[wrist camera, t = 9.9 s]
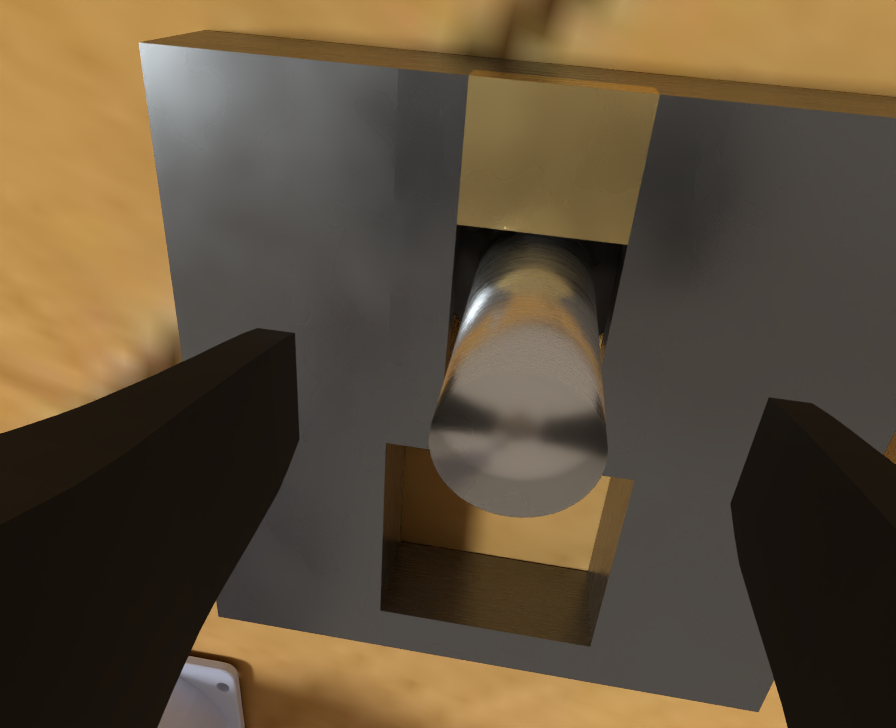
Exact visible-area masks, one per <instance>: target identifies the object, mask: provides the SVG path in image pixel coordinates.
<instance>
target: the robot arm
mask: <svg viewBox="0 0 896 728" xmlns="http://www.w3.org/2000/svg"><path fill="white" fill-rule="evenodd" d="M299 439H300V438H299V414H298V390H297V367H296V343H295V333H292V332H284V331H277V330H270V329H262V328H256V329H253V330H250V331H248V332H245V333H243V334H240V335H238V336H236V337H233V338H231V339H229V340H227V341H225V342H223V343H221V344H219V345H216V346H214V347H212V348H210V349H208V350H206V351H204V352H202V353H200V354H198V355H196V356H194V357H191V358H189V359H187V360H185V361H183V362H181V363H179V364H177V365H175V366H173V367H171V368H168V369H166V370H164V371H162V372H160V373H158V374H156V375H154V376H151V377H149V378H147V379H144V380H142V381H140V382H137V383H135V384H133V385H130V386H128V387H126V388H123V389H121V390H119V391H116V392H114V393H112V394H109V395H107V396H105V397H103V398H100V399H98V400H96V401H93V402H91V403H88V404H86V405H83V406H80V407H78V408H75V409H72V410H70V411H67V412H64V413H62V414H59V415H56V416H53V417H50V418H47V419H44V420H41V421H38V422H35V423H32V424H29V425H26V426H23V427H20V428H17V429H14V430H11V431H8V432H4V433H1V434H0V728H245V724H244V716H243V709H242V701H241V693H240V685H239V677H238V672H237V670H236V668H235V667H234V666H232V665H231V664H229V663H225V662H220V661H215V660H209V659H204V658H198V657H193V656H189V654H190V652H191V649H192V647H193V645H194V643H195V640H196V638H197V636H198V634H199V632H200V630H201V628H202V626H203V624H204V622H205V620H206V618H207V616H208V614H209V612H210V611H211V609H212V607H213V605H214V603H215V601H216V600H217V598H218V596H219V594H220V593H221V591H222V589H223V588H224V586H225V584H226V582H227V581H228V579H229V577H230V576H231V574H232V572H233V570H234V569H235V567H236V565H237V563H238V562H239V560H240V558H241V557H242V555H243V553H244V551H245V550H246V548H247V546H248V545H249V543H250V541H251V539H252V538H253V536H254V534H255V533H256V531H257V529H258V527H259V526H260V524H261V522H262V520H263V519H264V517H265V515H266V513H267V511H268V510H269V508H270V506H271V504H272V503H273V501H274V499H275V497H276V495H277V494H278V492H279V490H280V487H281V485H282V483H283V480H284V478H285V475H286V473H287V471H288V468H289V466H290V463H291V460H292V458H293V455H294V453H295V450H296V447H297V445H298V442H299ZM730 506H731V513H732V521H733V529H734V536H735V542H736V548H737V554H738V560H739V565H740V568H741V572H742V576H743V579H744V582H745V586H746V589H747V592H748V596H749V599H750V603H751V606H752V609H753V613H754V616H755V619H756V622H757V625H758V629H759V632H760V635H761V638H762V642H763V645H764V648H765V651H766V655H767V658H768V661H769V664H770V668H771V671H772V674H773V677H774V681H775V684H776V687H777V690H778V694H779V697H780V700H781V703H782V707H783V711H784V715H785V719H786V722H787V726H788V728H896V465H895V464H894V463H893V462H892V461H890V460H889V459H888V458H886V457H885V456H884V455H883V454H881V453H880V452H879V451H877V450H876V449H875V448H873V447H872V446H871V445H870V444H868V443H867V442H866V441H864V440H863V439H862V438H861V437H859V436H858V435H857V434H855V433H854V432H853V431H851V430H850V429H849V428H847V427H846V426H845V425H843V424H842V423H841V422H839V421H838V420H837V419H835V418H834V417H833V416H831V415H830V414H828V413H827V412H825V411H824V410H822V409H821V408H819V407H817V406H816V405H814V404H813V403H808V402H800V401H793V400H786V399H778V398H771V397H769V398H768V401H767V403H766V406H765V409H764V412H763V414H762V417H761V420H760V423H759V426H758V428H757V431H756V434H755V437H754V439H753V442H752V445H751V448H750V450H749V453H748V456H747V459H746V462H745V464H744V467H743V470H742V473H741V475H740V478H739V481H738V484H737V486H736V489H735V492H734V495H733V498H732V500H731V503H730Z"/></svg>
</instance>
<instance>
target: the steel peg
mask: <svg viewBox="0 0 896 728" xmlns="http://www.w3.org/2000/svg"><path fill="white" fill-rule="evenodd" d="M621 248H622V244H616V243H608V242H599V241H591V240H583V239H574V238H566V237H558V236H549V235H541V234H533V233H524V232H516V231H507V230H499V229H491V228H482V227H474V226H466V225H461V229H460V241H459V253H458V265H457V276H456V288H455V300H454V313H455V314H456V316H457V317H458V319H459V320H460V321H461V325H460V328H459V332H458V335H457V339H456V342H455V345H454V349H453V352H452V355H451V359H450V362H449V366H448V369H447V372H446V376H445V379H444V382H443V386H442V389H441V393H440V396H439V399H438V403H437V406H436V409H435V413H434V416H433V420H432V423H431V427H430V431H429V450H430V455H431V459H432V461H433V464H434V467H435V468H436V470H437V472H438V474H439V476H440V477H441V478H442V480H443V481H444V482H445V484H446V485H447V486H448V487H449V488H450V489H451V490H452V491H453V492H454V493H456V494H457V495H458V496H459V497H460V498H462V499H463V500H465V501H467V502H468V503H470V504H472V505H474V506H476V507H478V508H480V509H482V510H485V511H488V512H491V513H494V514H498V515H503V516H509V517H521V518H522V517H538V516H544V515H549V514H553V513H556V512H559V511H561V510H564V509H566V508H568V507H570V506H572V505H574V504H575V503H577V502H578V501H580V500H581V499H583V498H584V497H585V496H586V495H587V494H588V493H589V492H590V491H591V490H592V489H593V488H594V487H595V485H596V484H597V482H598V481H599V479H600V478H601V476H602V473H603V471H604V469H605V465H606V461H607V454H608V444H607V432H606V419H605V407H604V395H603V383H602V371H601V358H600V346H599V335H600V334H601V333H603V332H604V329H605V325H606V320H607V315H608V310H609V306H610V301H611V296H612V291H613V286H614V282H615V277H616V272H617V267H618V262H619V258H620V253H621Z"/></svg>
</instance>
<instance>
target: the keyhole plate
mask: <svg viewBox="0 0 896 728" xmlns="http://www.w3.org/2000/svg"><path fill="white" fill-rule="evenodd" d="M139 49H140V56H141V63H142V70H143V78H144V85H145V92H146V99H147V106H148V113H149V121H150V128H151V135H152V142H153V149H154V157H155V164H156V171H157V178H158V185H159V192H160V200H161V207H162V214H163V221H164V228H165V236H166V243H167V250H168V257H169V264H170V272H171V279H172V286H173V293H174V300H175V307H176V315H177V322H178V329H179V336H180V343H181V351H182V358H183V361H185V360H187V359H189V358H191V357H194V356H196V355H198V354H200V353H202V352H204V351H206V350H208V349H210V348H212V347H214V346H216V345H219V344H221V343H223V342H225V341H227V340H229V339H231V338H233V337H236V336H238V335H240V334H243V333H245V332H248V331H250V330H253V329H256V328H262V329H270V330H277V331H284V332H292V333H295V343H296V367H297V390H298V414H299V438H300V439H299V442H298V445H297V447H296V450H295V453H294V455H293V458H292V460H291V463H290V466H289V468H288V471H287V473H286V475H285V478H284V480H283V483H282V485H281V487H280V490H279V492H278V494H277V495H276V497H275V499H274V501H273V503H272V504H271V506H270V508H269V510H268V511H267V513H266V515H265V517H264V519H263V520H262V522H261V524H260V526H259V527H258V529H257V531H256V533H255V534H254V536H253V538H252V539H251V541H250V543H249V545H248V546H247V548H246V550H245V551H244V553H243V555H242V557H241V558H240V560H239V562H238V563H237V565H236V567H235V569H234V570H233V572H232V574H231V576H230V577H229V579H228V581H227V582H226V584H225V586H224V588H223V589H222V591H221V593H220V594H219V596H218V598H217V600H216V602H217V609H218V616H219V617H224V618H230V619H236V620H241V621H247V622H253V623H258V624H264V625H270V626H275V627H281V628H286V629H292V630H298V631H303V632H309V633H315V634H320V635H326V636H332V637H337V638H343V639H348V640H354V641H360V642H365V643H371V644H377V645H382V646H388V647H394V648H399V649H405V650H410V651H416V652H422V653H427V654H433V655H439V656H444V657H450V658H456V659H461V660H467V661H473V662H478V663H484V664H489V665H495V666H501V667H506V668H512V669H518V670H523V671H529V672H535V673H540V674H546V675H551V676H557V677H563V678H568V679H574V680H580V681H585V682H591V683H597V684H602V685H608V686H614V687H619V688H625V689H630V690H636V691H642V692H647V693H653V694H659V695H664V696H670V697H676V698H681V699H687V700H692V701H698V702H704V703H709V704H715V705H721V706H726V707H732V708H738V709H743V710H749V711H755V712H759V710H760V708H761V706H762V704H763V702H764V699H765V697H766V695H767V693H768V691H769V689H770V687H771V685H772V683H773V681H774V677H773V674H772V671H771V668H770V664H769V661H768V658H767V655H766V651H765V648H764V645H763V642H762V638H761V635H760V632H759V629H758V625H757V622H756V619H755V616H754V613H753V609H752V606H751V603H750V599H749V596H748V592H747V589H746V586H745V582H744V579H743V576H742V572H741V568H740V565H739V560H738V554H737V548H736V542H735V536H734V529H733V521H732V513H731V506H730V503H731V500H732V498H733V495H734V492H735V489H736V486H737V484H738V481H739V478H740V475H741V473H742V470H743V467H744V464H745V462H746V459H747V456H748V453H749V450H750V448H751V445H752V442H753V439H754V437H755V434H756V431H757V428H758V426H759V423H760V420H761V417H762V414H763V412H764V409H765V406H766V403H767V401H768V398H769V397H771V398H778V399H786V400H793V401H800V402H808V403H813V404H814V405H816V406H817V407H819V408H821V409H822V410H824V411H825V412H827V413H828V414H830V415H831V416H833V417H834V418H835V419H837V420H838V421H839V422H841V423H842V424H843V425H845V426H846V427H847V428H849V429H850V430H851V431H853V432H854V433H855V434H857V435H858V436H859V437H861V438H862V439H863V440H864V441H866V442H867V443H868V444H870V445H871V446H872V447H873V448H875V449H876V450H877V451H879V452H880V453H881V454H883V455H884V453H885V451H886V449H887V447H888V445H889V443H890V441H891V439H892V437H893V435H894V433H895V431H896V97H889V96H878V95H868V94H858V93H847V92H837V91H827V90H817V89H806V88H796V87H786V86H775V85H765V84H755V83H744V82H734V81H724V80H713V79H703V78H693V77H682V76H672V75H662V74H652V73H641V72H631V71H621V70H610V69H600V68H590V67H579V66H569V65H559V64H548V63H538V62H528V61H517V60H507V59H497V58H487V57H476V56H466V55H456V54H445V53H435V52H425V51H414V50H404V49H394V48H383V47H373V46H363V45H352V44H342V43H332V42H322V41H311V40H301V39H291V38H280V37H270V36H260V35H249V34H239V33H229V32H218V31H208V30H203V31H198V32H192V33H187V34H182V35H176V36H171V37H166V38H160V39H155V40H149V41H144V42H139ZM461 225H466V226H474V227H482V228H491V229H499V230H507V231H516V232H524V233H533V234H541V235H549V236H558V237H566V238H574V239H583V240H591V241H599V242H608V243H616V244H622V248H621V253H620V258H619V262H618V267H617V272H616V277H615V282H614V286H613V291H612V296H611V301H610V306H609V310H608V315H607V320H606V325H605V329H604V334H603V339H602V344H601V349H600V358H601V371H602V383H603V395H604V407H605V419H606V432H607V444H608V454H607V461H606V465H605V469H604V471H603V473H602V475H603V476H610V477H611V479H610V483H609V487H608V492H607V496H606V500H605V504H604V508H603V512H602V516H601V520H600V524H599V528H598V533H597V537H596V541H595V545H594V549H593V553H592V557H591V561H590V565H589V569H588V572H585V571H579V570H573V569H567V568H561V567H555V566H548V565H542V564H536V563H530V562H524V561H518V560H512V559H505V558H499V557H493V556H487V555H481V554H475V553H469V552H463V551H456V550H450V549H444V548H438V547H432V546H426V545H420V544H413V543H407V542H401V541H400V538H401V518H402V498H403V479H404V459H405V446H410V447H417V448H423V449H429V431H430V427H431V423H432V420H433V416H434V413H435V409H436V406H437V403H438V399H439V396H440V393H441V389H442V386H443V382H444V379H445V376H446V372H447V369H448V366H449V359H450V348H451V336H452V324H453V312H454V300H455V288H456V276H457V265H458V253H459V241H460V229H461Z"/></svg>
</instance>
